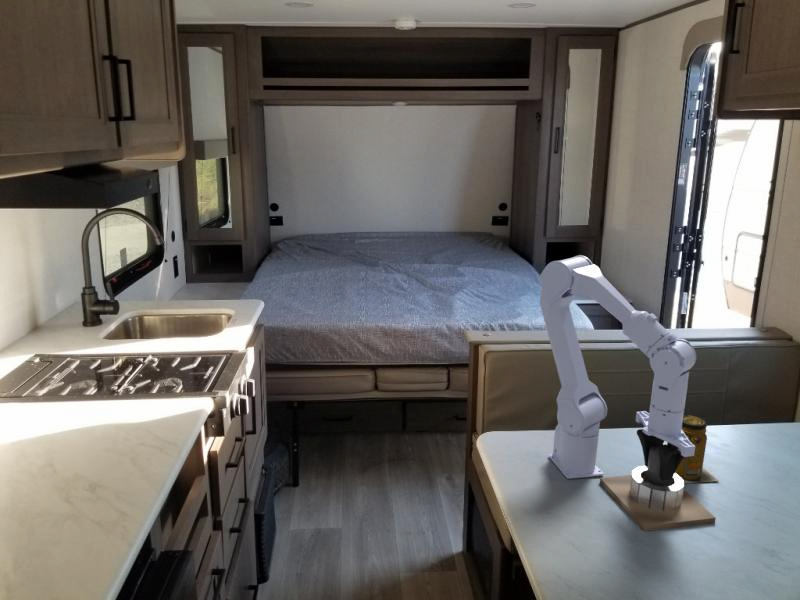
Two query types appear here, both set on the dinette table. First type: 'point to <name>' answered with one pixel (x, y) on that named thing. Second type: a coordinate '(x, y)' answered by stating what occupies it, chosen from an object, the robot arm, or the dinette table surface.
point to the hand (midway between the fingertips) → (658, 472)
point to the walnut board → (652, 518)
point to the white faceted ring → (656, 491)
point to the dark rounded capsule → (654, 467)
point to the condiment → (693, 465)
